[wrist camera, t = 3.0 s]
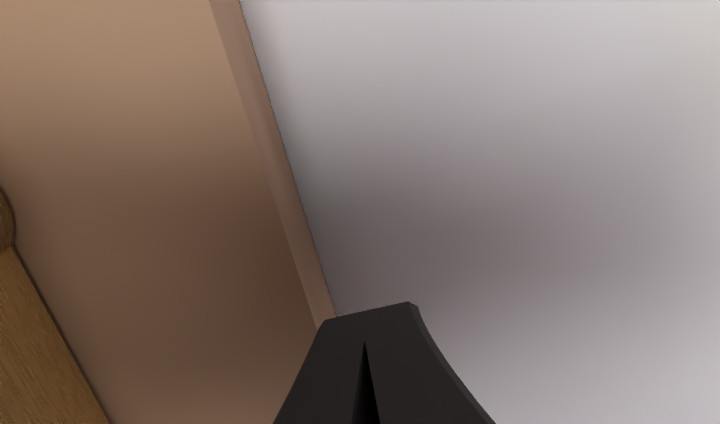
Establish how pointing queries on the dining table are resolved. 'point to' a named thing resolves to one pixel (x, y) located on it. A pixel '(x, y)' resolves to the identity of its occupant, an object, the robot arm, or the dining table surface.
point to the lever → (35, 352)
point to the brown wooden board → (157, 206)
